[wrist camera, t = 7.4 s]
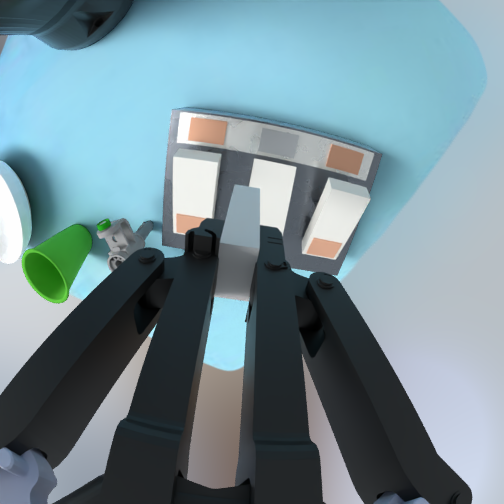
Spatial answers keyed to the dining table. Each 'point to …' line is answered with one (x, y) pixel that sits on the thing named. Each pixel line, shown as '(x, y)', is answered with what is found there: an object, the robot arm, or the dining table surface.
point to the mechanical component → (122, 239)
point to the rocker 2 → (273, 191)
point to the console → (275, 150)
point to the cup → (57, 262)
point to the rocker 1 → (194, 188)
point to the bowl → (13, 216)
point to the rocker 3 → (334, 218)
